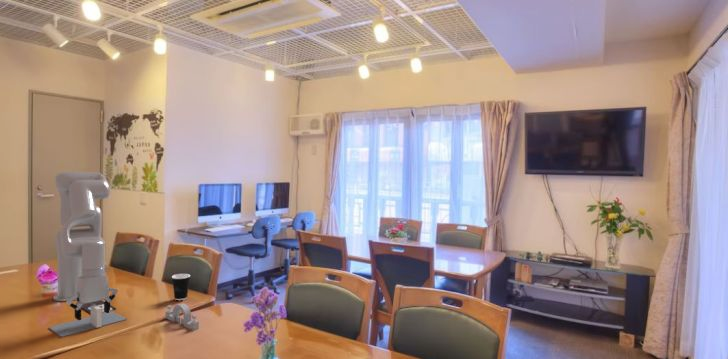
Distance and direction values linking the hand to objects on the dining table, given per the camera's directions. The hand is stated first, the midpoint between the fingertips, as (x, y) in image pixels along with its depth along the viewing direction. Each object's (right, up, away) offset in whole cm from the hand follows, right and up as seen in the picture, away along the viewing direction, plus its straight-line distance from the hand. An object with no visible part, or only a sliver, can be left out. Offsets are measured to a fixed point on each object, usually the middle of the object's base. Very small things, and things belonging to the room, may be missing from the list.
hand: (92, 315), depth 158 cm
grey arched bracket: (+33, -5, +3) cm, 33 cm away
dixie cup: (+20, -3, +31) cm, 37 cm away
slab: (0, +1, 0) cm, 1 cm away
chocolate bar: (-11, -3, +18) cm, 21 cm away
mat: (-1, -3, 0) cm, 3 cm away
